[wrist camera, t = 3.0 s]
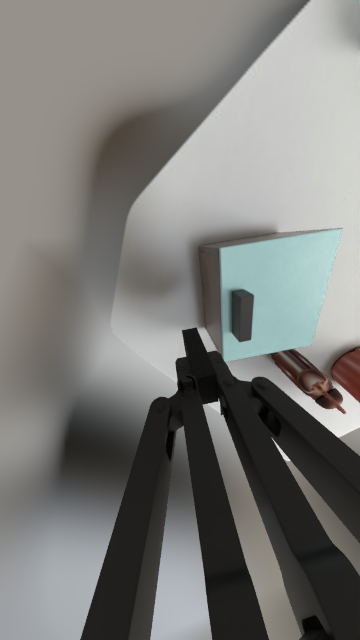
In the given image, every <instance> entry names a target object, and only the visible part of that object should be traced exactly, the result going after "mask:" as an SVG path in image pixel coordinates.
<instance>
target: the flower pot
mask: <svg viewBox="0 0 360 640" xmlns="http://www.w3.org/2000/svg"><path fill="white" fill-rule="evenodd" d="M332 374H333V379H334V380H335V381H336V382H338V383H339V384H340V385H341V386H342V387H343V388H344V389H345V390H346V391H347V392H349V393H350V394H351V395H352V396H353V397H354V398H355V399H356V400H357V401H358V402H359V403H360V348H356V349H355V351H353V352H350V353H346V354H345V355H343V356H342V357H341V358H340V359H339V360H338V361H337V362H336V364H335V365H334V367H333V369H332Z"/></svg>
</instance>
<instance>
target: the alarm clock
mask: <svg viewBox="0 0 360 640" xmlns="http://www.w3.org/2000/svg"><path fill="white" fill-rule="evenodd" d="M270 354H271V355H272V356H273V357H272V358H273V360H274V361H275V364H276V365H277V366H278V367H279V368H280V369H281V370H282V372H283V373H284V374H285V375H286V376H287V377H288V378H289V379H290V380H291V381H292V382H293V383H294V384H295V385H296V386H297V387H298V388H299V389H300V390H301V391H302V392H303V393H305V394H306V395H308V396H310V397H311V398H312V399H314V400H315V402H316V403H317V404H318V405H320V406H321V407H323V408H325V409H334V408H337V409H338V410H339V411H341V412H342V413H343V414H345V413H346V412H345V410H344V409H343V408H342V407H341V406H340V404H341V403H342V401H343V398H342V395H341V394H340V392H339V391H338V390H337V389H336V388H334V389H332V388H333V386H332V383H331V382H330V380H329V379H328V378H327V377H326V376H325V375H324V374H323V373H322V372H320V371H319V370H318V369H317V368H316V367H315V366H314V365H313V364H312V363H310V362H309V361H308V360H307V359H306V358H305V357H303V356H302V355H301V354H300V353H298V352H297V351H296V350H294V349H289V350H284V351H279V352H277V353H276V354H275V355H274V354H272V353H270Z"/></svg>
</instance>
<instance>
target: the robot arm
mask: <svg viewBox="0 0 360 640" xmlns="http://www.w3.org/2000/svg"><path fill="white" fill-rule="evenodd" d="M182 333H183V339H184V346H185V352H186V356H187V357H183V358H178V359H177V360H176V363H175V364H176V371H177V378H178V381H177V385H178V391H177V392H176V394H175V395H173V396H172V397H170V398H168V399H167V398H166V397H158V398H157V399H155V400H154V401H153V402H152V404H151V405H150V409H149V412H148V415H147V419H146V422H145V425H144V429H143V432H142V435H141V439H140V442H139V445H138V449H137V452H136V456H135V459H134V462H133V465H132V469H131V473H130V476H129V479H128V482H127V486H126V489H125V492H124V496H123V499H122V502H121V506H120V509H119V513H118V516H117V519H116V522H115V526H114V529H113V533H112V536H111V539H110V542H109V546H108V549H107V553H106V556H105V559H104V563H103V566H102V569H101V572H100V576H99V579H98V582H97V586H96V589H95V592H94V596H93V599H92V603H91V606H90V609H89V613H88V616H87V619H86V623H85V626H84V630H83V633H82V636H81V639H80V640H150V636H151V628H152V621H153V613H154V605H155V596H156V589H157V581H158V573H159V565H160V557H161V550H162V542H163V534H164V526H165V517H166V510H167V502H168V494H169V486H170V478H171V471H172V463H173V455H174V447H175V439H176V431H177V429H179V428H181V427H182V426H184V431H185V438H186V445H187V452H188V460H189V467H190V474H191V481H192V488H193V496H194V502H195V510H196V517H197V524H198V532H199V539H200V546H201V552H202V560H203V568H204V575H205V585H206V594H207V603H208V610H209V618H210V625H211V632H212V640H269V638H268V635H267V631H266V628H265V624H264V621H263V617H262V613H261V610H260V606H259V603H258V599H257V596H256V592H255V589H254V586H253V582H252V579H251V576H250V574H249V571H248V568H247V566H246V563H245V559H244V555H243V552H242V548H241V544H240V540H239V537H238V533H237V530H236V526H235V522H234V518H233V515H232V511H231V508H230V504H229V500H228V497H227V493H226V489H225V486H224V482H223V478H222V475H221V471H220V468H219V464H218V460H217V457H216V453H215V449H214V445H213V442H212V438H211V435H210V431H209V427H208V423H207V420H206V416H205V412H204V409H203V404H208V403H212V402H217V401H218V398H219V401H220V407H221V415H224V418H225V421H226V423H227V426H228V429H229V432H230V434H231V436H232V440H233V442H234V445H235V448H236V450H237V453H238V456H239V458H240V461H241V464H242V467H243V469H244V472H245V474H246V477H247V480H248V483H249V485H250V488H251V491H252V493H253V496H254V499H255V501H256V504H257V507H258V509H259V512H260V515H261V517H262V520H263V523H264V526H265V528H266V531H267V534H268V536H269V539H270V542H271V544H272V547H273V550H274V553H275V555H276V558H277V560H278V563H279V566H280V570H281V573H282V577H283V582H284V586H285V588H286V592H287V595H288V598H289V601H290V604H291V607H292V609H293V612H294V615H295V618H296V621H297V623H298V626H299V629H300V632H301V634H302V637H301V638H300V639H299V640H360V576H359V574H358V573H357V571H356V570H355V568H354V567H353V565H352V564H351V562H350V561H349V560H348V559H347V557H346V556H345V555H344V554H343V553H342V552H341V551H340V550H339V549H338V548H337V547H336V546H335V545H334V544H333V543H332V541H331V540H330V539H329V537H328V536H327V534H326V532H325V530H324V529H323V527H322V525H321V523H320V522H319V520H318V518H317V516H316V515H315V513H314V511H313V509H312V508H311V506H310V504H309V503H308V501H307V499H306V497H305V495H304V494H303V492H302V490H301V489H300V487H299V485H298V483H297V481H296V480H295V478H294V476H293V475H292V473H291V471H290V469H289V468H288V466H287V464H286V462H285V461H284V459H283V457H282V455H281V454H280V452H279V450H278V448H277V447H276V445H275V443H274V441H275V442H276V443H277V444H278V446H279V447H280V448H281V449H282V450H283V452H284V453H285V454H286V455H287V456H288V458H289V459H290V460H291V461H292V462H293V464H294V465H295V466H296V467H297V468H298V470H299V471H300V472H301V473H302V474H303V476H304V477H305V478H306V479H307V480H308V482H309V483H310V484H311V485H312V486H313V488H314V489H315V490H316V491H317V492H318V494H319V495H320V496H321V497H322V499H323V500H324V501H325V502H326V503H327V505H328V506H329V507H330V508H331V509H332V511H334V513H335V514H336V515H337V517H338V518H339V519H340V520H341V521H342V523H343V524H344V525H345V526H346V527H347V529H348V530H349V531H350V532H351V533H352V534H353V536H354V537H355V538H356V539H357V541H358V542H359V543H360V456H359V455H358V454H357V453H355V452H354V451H353V450H352V449H351V448H349V447H348V446H347V445H346V444H345V443H344V442H342V441H341V440H340V439H339V438H338V437H336V436H335V435H334V434H333V433H332V432H331V431H329V430H328V429H327V428H326V427H325V426H323V425H322V424H321V423H320V422H319V421H317V420H316V419H315V418H314V417H313V416H312V415H310V414H309V413H308V412H307V411H306V410H304V409H303V408H302V407H301V406H300V405H299V404H297V403H296V402H295V401H294V400H293V399H291V398H290V397H289V396H288V395H287V394H286V393H284V392H283V391H282V390H281V389H280V388H278V387H277V386H276V385H275V384H274V383H273V382H271V381H270V380H269V379H267V378H264V377H255V378H254V379H252V382H248V381H241V380H238V379H237V378H236V377H234V376H233V375H232V374H231V372H230V370H229V368H228V366H227V365H226V363H225V361H224V359H223V357H222V356H221V354H220V353H219V352H217V351H212V352H207V351H206V348H205V346H204V344H203V342H202V339H201V337H200V335H199V333H198V330H197V328H192V329H187V330H182ZM271 437H272V438H273V440H274V441H273V440H272V438H271Z"/></svg>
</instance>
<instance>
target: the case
mask: <svg viewBox="0 0 360 640" xmlns="http://www.w3.org/2000/svg"><path fill="white" fill-rule="evenodd" d="M335 229H336V228H335ZM325 230H331V229H322V230H309V231H296V232H282V233H274V234H268V235H262V236H256V237H250V238H244V239H238V240H232V241H226V242H219V243H213V244H207V245H201V246H199V257H200V269H201V281H202V293H203V305H204V317H205V329H206V330H207V332H208V334H209V336H210V338H211V340H212V341H213V343H214V345H215V347H216V349H217V351H218V352H219V353H220V354H221V356H222V329H221V298H220V267H219V248H222V247H228V246H234V245H240V244H246V243H252V242H258V241H264V240H270V239H276V238H283V237H289V236H295V235H301V234H307V233H313V232H319V231H325Z"/></svg>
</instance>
